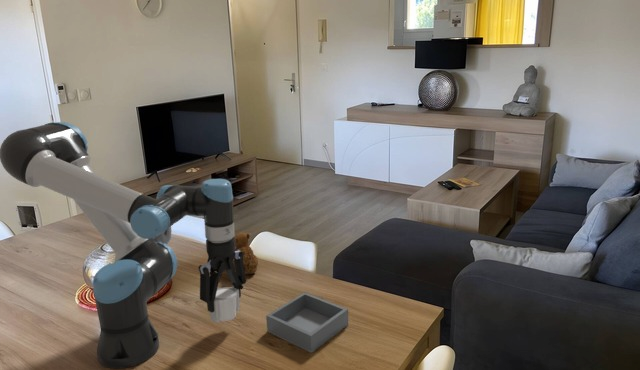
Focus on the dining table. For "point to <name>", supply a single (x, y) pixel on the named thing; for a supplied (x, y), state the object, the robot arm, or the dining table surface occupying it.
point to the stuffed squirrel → (246, 253)
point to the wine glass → (164, 236)
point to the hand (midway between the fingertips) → (225, 314)
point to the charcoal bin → (307, 321)
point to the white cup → (226, 303)
